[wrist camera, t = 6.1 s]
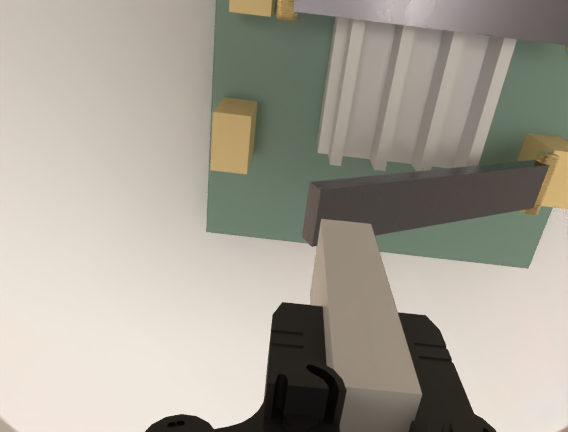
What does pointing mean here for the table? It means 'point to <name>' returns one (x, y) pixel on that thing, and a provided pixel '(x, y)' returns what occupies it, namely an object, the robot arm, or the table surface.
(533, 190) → the strap
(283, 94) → the board
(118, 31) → the table surface
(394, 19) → the strap
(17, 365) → the table surface
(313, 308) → the robot arm
